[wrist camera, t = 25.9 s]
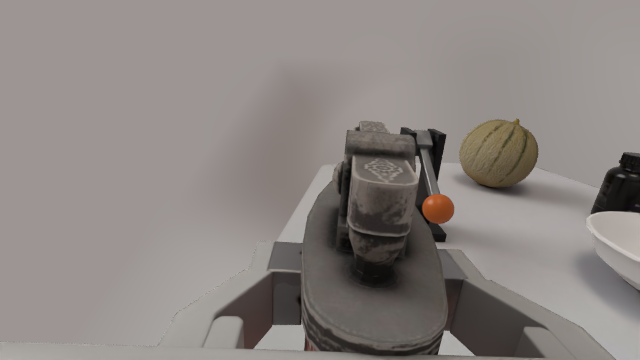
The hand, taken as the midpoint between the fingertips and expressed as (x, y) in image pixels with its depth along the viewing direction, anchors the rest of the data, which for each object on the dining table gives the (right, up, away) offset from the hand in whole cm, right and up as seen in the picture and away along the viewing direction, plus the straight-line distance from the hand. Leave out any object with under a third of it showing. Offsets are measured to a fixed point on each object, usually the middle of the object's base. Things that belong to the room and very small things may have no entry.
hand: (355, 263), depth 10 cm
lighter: (0, -6, +1) cm, 6 cm away
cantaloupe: (+37, +1, +58) cm, 69 cm away
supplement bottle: (+50, -5, +43) cm, 66 cm away
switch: (+13, +2, +31) cm, 34 cm away
